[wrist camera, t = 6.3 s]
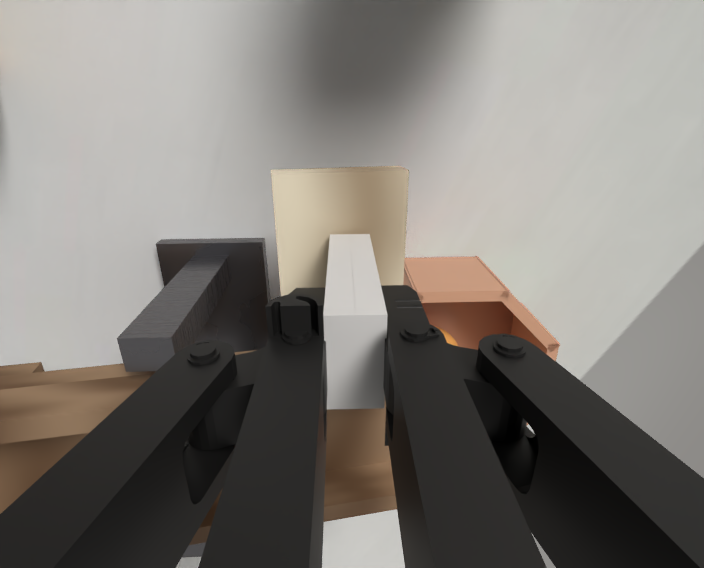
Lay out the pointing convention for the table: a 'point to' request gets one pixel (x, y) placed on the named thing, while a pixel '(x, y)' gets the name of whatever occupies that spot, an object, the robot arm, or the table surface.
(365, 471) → the lever
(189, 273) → the lever stand
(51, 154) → the table surface
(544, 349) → the terracotta octagonal bowl
